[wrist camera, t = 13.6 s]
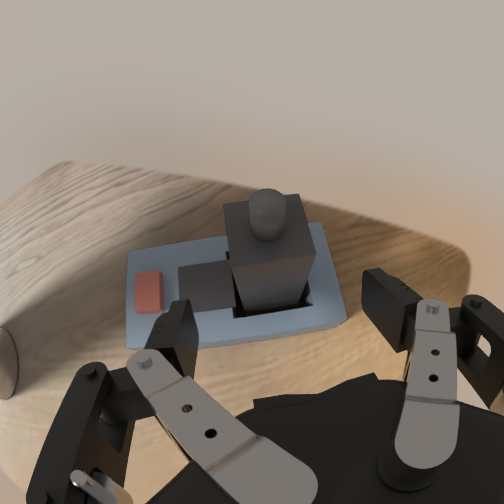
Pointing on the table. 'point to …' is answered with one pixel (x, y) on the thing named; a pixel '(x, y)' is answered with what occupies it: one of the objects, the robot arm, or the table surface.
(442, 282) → the table surface
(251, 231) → the black plug
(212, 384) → the table surface
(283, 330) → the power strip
